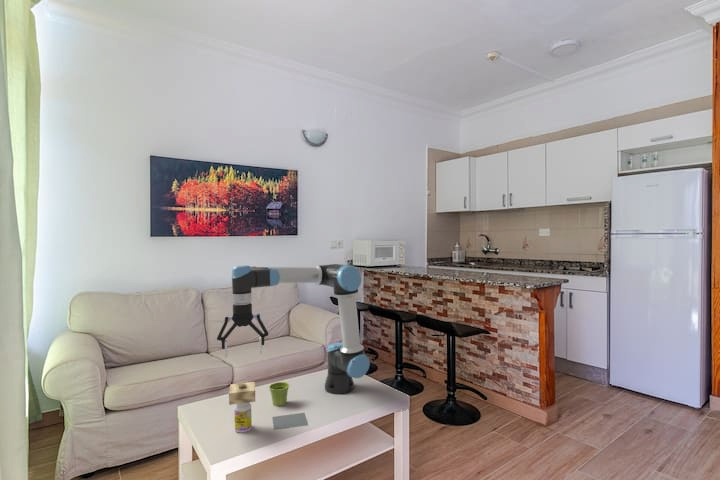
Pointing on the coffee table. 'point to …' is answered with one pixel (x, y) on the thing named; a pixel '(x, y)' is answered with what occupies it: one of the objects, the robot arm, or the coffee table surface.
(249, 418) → the supplement bottle
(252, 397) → the lid
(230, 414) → the coffee table surface
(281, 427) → the mat
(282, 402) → the plant pot
